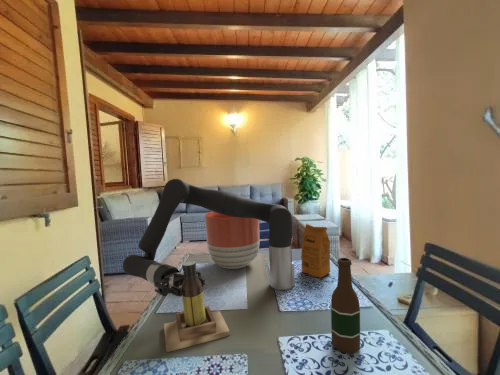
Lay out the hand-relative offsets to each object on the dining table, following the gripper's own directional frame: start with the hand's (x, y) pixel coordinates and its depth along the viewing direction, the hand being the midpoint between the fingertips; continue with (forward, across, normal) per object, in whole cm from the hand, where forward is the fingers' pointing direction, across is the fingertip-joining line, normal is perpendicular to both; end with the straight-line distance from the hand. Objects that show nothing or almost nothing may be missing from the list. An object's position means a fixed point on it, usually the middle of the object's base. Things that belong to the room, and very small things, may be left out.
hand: (193, 287), depth 81 cm
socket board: (0, 0, +14) cm, 14 cm away
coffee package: (+10, +61, +14) cm, 64 cm away
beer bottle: (+38, +20, +14) cm, 46 cm away
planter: (-27, +47, +14) cm, 56 cm away
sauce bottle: (0, 0, +13) cm, 13 cm away
